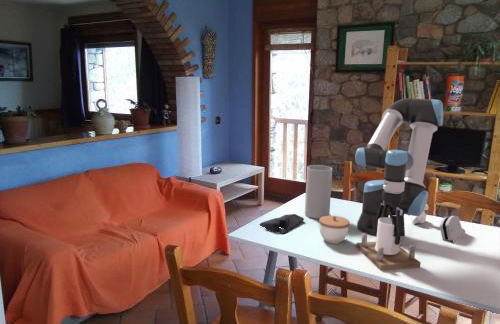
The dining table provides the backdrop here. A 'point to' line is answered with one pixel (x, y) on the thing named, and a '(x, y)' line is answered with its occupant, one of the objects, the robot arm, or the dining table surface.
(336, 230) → the lidded bowl
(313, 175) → the cylinder vase
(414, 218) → the bust
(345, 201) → the dining table surface
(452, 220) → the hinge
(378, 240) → the mug
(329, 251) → the dining table surface
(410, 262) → the peg board
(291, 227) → the dark slate chunk
